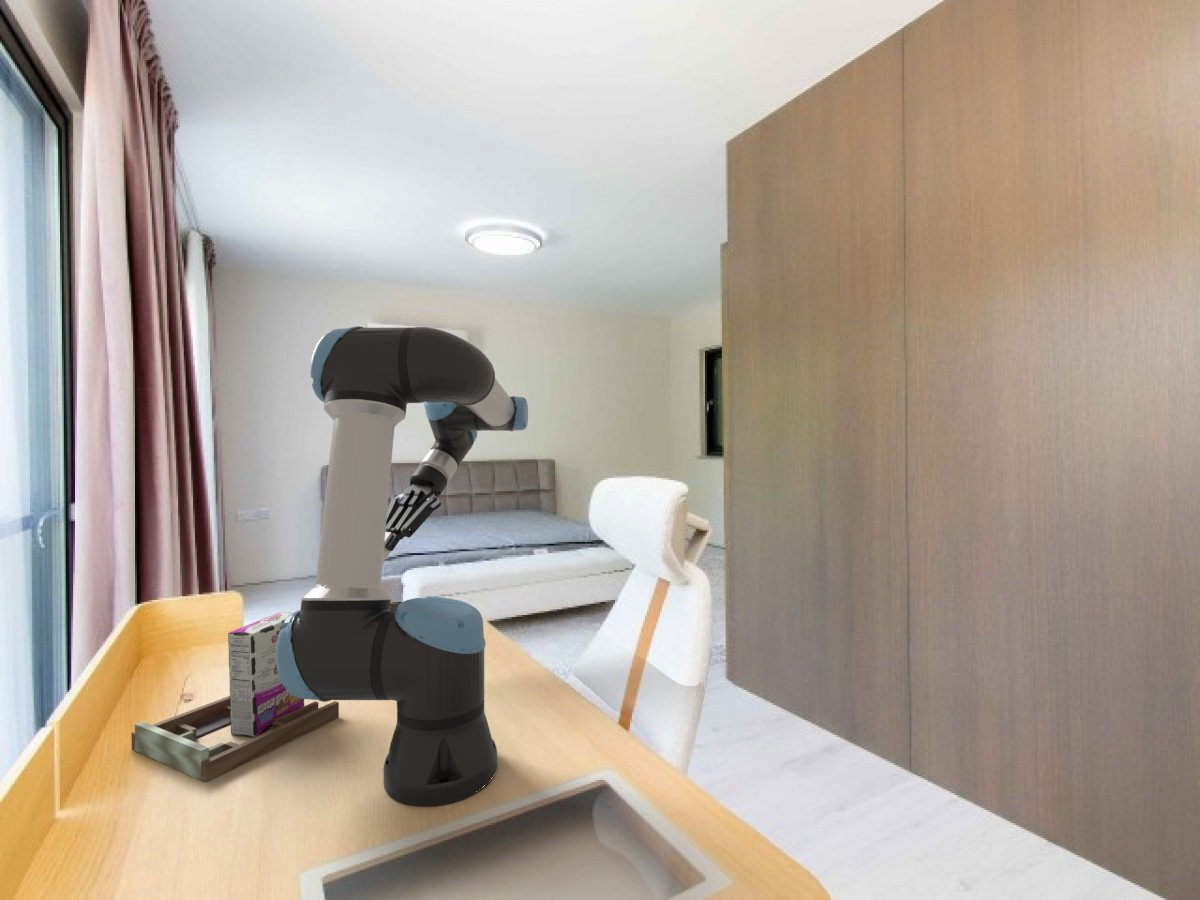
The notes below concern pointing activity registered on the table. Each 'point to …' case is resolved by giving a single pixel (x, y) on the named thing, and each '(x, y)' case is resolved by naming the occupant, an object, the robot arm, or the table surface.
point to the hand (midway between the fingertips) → (374, 562)
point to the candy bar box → (257, 678)
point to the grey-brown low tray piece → (180, 751)
